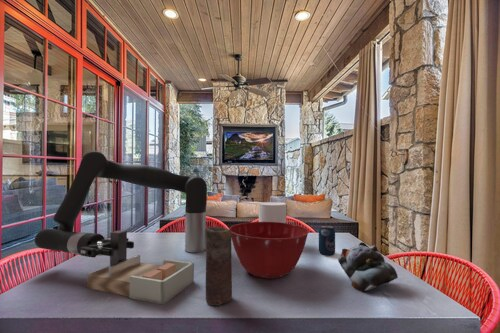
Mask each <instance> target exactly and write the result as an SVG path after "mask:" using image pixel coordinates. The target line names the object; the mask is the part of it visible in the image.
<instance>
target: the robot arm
mask: <svg viewBox="0 0 500 333" xmlns="http://www.w3.org/2000/svg"><path fill="white" fill-rule="evenodd" d="M96 178H100V179H109V180H110V179H111V180H117V181H122V182H126V183H129V184H132V185H137V186H141V187H144V188H145V187H146V188H151V189H158V190H171V191H176V192H180V193H184V194H185V207H184V209H185V213H184V214H185V218H184V219H185V222H184V223H185V224H184V227H185V228H184V232H185V234H184V243H185V244H184V251H185V252H187V253H201V252H205V251H206V228H207V204H208V185H207V182H206V181H205V180H204V179H203V178H202V177H200V176H190V175H183V174H176V173H174V172H171V171H168V170H165V169H163V168H159V167H157V166H156V167H155V166H152V165H147V164H141V163H140V164H137V163H134V164H127V163H125V164H124V163H120V162H116V161H112V160H109V159H107V157H106V156H105V155H104V153H102V152H100V151H98V150H92V151H89V152H86V153H85V154H84V155H83V156H82V158H81V159H80V164H79V166H78V168H77V171H76V174H75V176H74V179H73V181H72V182H71V185H70V187H69V189H68V191H67V193H66V195H65V197H64V199H63V200H62V202H61V203H60V205H59V206H58V208H57V210H56V212H55V213H54V215H53V221H54V222H55V223H57V224H58V225H59V229H57V228H50V227H48V228H44V229H42V230H40V231H38V232H37V233H36V235H35V237H34V244H35V246H36V248H37V247H38V248H40V249H43V250H49V251H52V252H64V253H69V254H75V255H78V256H83V257H87V258H96V257H97V256H98V257H102V256H106V257H107V256H108V257H110V256H113V253H114V250H113V248H110V238H105V237H104V235H103V234H100V233H94V232H82V231H81V232H76V231H74V227H75V223H76V220H77V218H78V217H79V215H80V213H81V212H82V209H83V207H84V205H85V202H86V200H87V196H88V193H89V190H90V188H91V186H92V183H94V181H95V179H96ZM134 248H135V242H134V241H132V240H131V241H130V240H129V238H128V237H127V249H134Z"/></svg>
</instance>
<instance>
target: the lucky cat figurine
mask: <svg viewBox="0 0 500 333" xmlns="http://www.w3.org/2000/svg"><path fill="white" fill-rule="evenodd" d="M384 258H385V257H384V256H383V254H382V253H381V252H379V250H378V247H377V246H376V245H371V246H368V245H367V244H366V243H365V242H363V241H361V242H359V244H358V245H354V246H352V247H351V248H349V249H348V248H342V249H341V255H339V256H338V257H337V261H338V263H339V265H340V267H341V268H342V270H343V271H344V273H345V274H346V276H347V277H348V279H349V280H350V282H351V284H350V285H351V286H352V287H353V288H354V289H355V290H357V291H359V292H363V293H365V292H366V291H370V290H373V289H374V288H375V289H376V287H379V286H382V285H385V284H389V283H390V282H392V281H394V280H396V279H398V276H399V275H398V274H397V270H396V269H395V267H394V266H392V264H390V263H388V262H386V261H385V259H384Z"/></svg>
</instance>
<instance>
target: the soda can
mask: <svg viewBox="0 0 500 333" xmlns="http://www.w3.org/2000/svg"><path fill="white" fill-rule="evenodd" d="M318 253H319V254H320V256H321V255H322V256H325V257H332V256H334V255H335V254H336V230H335V227H334V226H333V225H330V224H329V225H328V224H322V225H319V229H318Z"/></svg>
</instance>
